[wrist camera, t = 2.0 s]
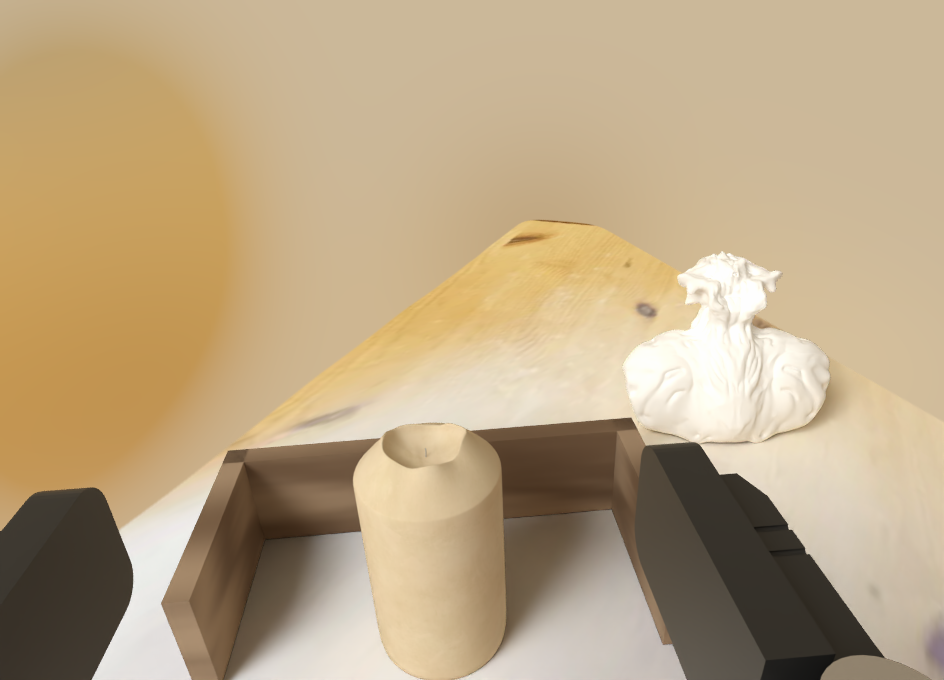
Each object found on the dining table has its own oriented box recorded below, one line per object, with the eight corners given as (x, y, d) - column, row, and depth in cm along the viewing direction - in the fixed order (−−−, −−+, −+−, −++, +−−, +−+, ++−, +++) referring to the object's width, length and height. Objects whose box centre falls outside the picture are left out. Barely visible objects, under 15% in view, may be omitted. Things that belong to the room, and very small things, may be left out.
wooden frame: (249, 527, 33) (228, 450, 31) (624, 494, 34) (631, 417, 32) (195, 689, 25) (161, 603, 23) (686, 642, 26) (701, 554, 24)
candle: (495, 565, 30) (486, 388, 26) (518, 671, 25) (514, 476, 21) (379, 583, 30) (349, 404, 25) (380, 694, 25) (344, 499, 20)
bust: (804, 442, 41) (786, 273, 43) (868, 441, 33) (844, 236, 35) (615, 444, 42) (606, 278, 43) (637, 444, 34) (625, 243, 36)
